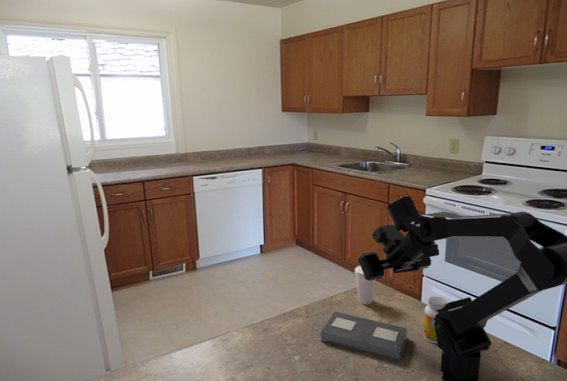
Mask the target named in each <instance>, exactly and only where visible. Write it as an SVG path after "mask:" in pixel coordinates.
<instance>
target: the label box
mask: <svg viewBox="0 0 567 381" xmlns="http://www.w3.org/2000/svg"><path fill="white" fill-rule="evenodd" d="M407 339H408V328H407V327H402V326H399V325H395V324H390V323H387V322H386V323H385V322H381V321H377V320H372V319H369V318H366V317H365V318H363V317H359V316H355V315H351V314H347V313H342V312H337V311H334V312H333V314H332V315H331V317H330V318H329V319H328V320H327V322H326V324H325V325H324V326H323V327H322V329H321V330H320V341H321V342H324V343H327V344H331V345H335V346H338V347H342V348H346V349H349V350H353V351H357V352H360V353H362V354H363V353H364V354H367V355H371V356H374V357H379V358H382V359H386V360H389V361H393V362H397V363H400V360H401V357H402V354H403V351H404V348H405V345H406V342H407Z"/></svg>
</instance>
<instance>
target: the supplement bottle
mask: <svg viewBox="0 0 567 381" xmlns="http://www.w3.org/2000/svg"><path fill="white" fill-rule="evenodd" d="M427 301H428V302H427V303H428V304H427V305H426V306H425V308H424V313H423V316H424V317H423V332H422V335H423V337H424V339H425V340H426V341H428V343H433V344H437V345H438V343H437V337H436V332H435V327H434V323H435V320H434V317H435V315H436V314H438V312H437V311H436V310H438V309H441V308H443V307H444V306H445V305H446V304H447V303H448V302H447V299H446V298H444V297H441V296H436V295H435V296H430V297H429V298H428V300H427Z"/></svg>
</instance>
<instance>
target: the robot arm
mask: <svg viewBox="0 0 567 381" xmlns="http://www.w3.org/2000/svg"><path fill="white" fill-rule="evenodd" d="M386 211H387V212H388V214H389V217H390V218H391V220H392V222H393V224H385V225H381V226H379V227H377V228H376V229H375V230H373V233H372V235H371V236H372V238H373V240H374V241H375V242H376V244H382V246H383V248H382V251H383V253H384V254H386V256H385V257H386V258H385V259H381V260H380V258H379V255H378V253H377V252H375V251H369V252H364V253H361V254H359V256H358V257H357V262H358V263H359V266H361V269H362V271H363V273H364V278H365V280H368V281H370V280H376V281H377V280H379V279H381V278H382V277H384V276H385V271H388V270H392V272H393V273H394V274H401V273H409V272H416V271H420V270H421V271H422V270H424V269H428V268H429V267H430V266H431V265H432V259H431V257H436V256H439V255H440V249H439V244H437V243H436V242H435V241H440V240H446V239H451V238H457V237H489V238H490V237H493V238H494V237H495V238H496V237H501V238H502V237H503V238H504V239H505V240H507V242H508V244H509V245H510V248H511V251H512V253H513V255H514V257H515V258H516V259H517V260H518V261H519V262H520V263H519V265H518V268H517V270H516V272H515V273H514V274H513V275H511V276H509V277H508V278H506V279H505V280H503V281H501V282H500V283H498V284H497V285H495V286H493V287H492V288H490V289H488V290H487V291H485V292H484V293H482V294H481V295H479V296H478V297H476V298H474V299H473V300H472V298H471V297H470V296H468V297H465V298H460V299H457V300H453V301H449V302H447V304H446V305H445V306H444V307H443V308H441V309H438V310H436V311H437V312H438V314H436V315H435V317H434V320H435V323H434V327H435V332H436V337H437V343H438V344H437V347H438V349H440V350H441V359H440V361H441V362H440V372H441V373H442V378H441V379H442V381H480V366H481V354H482V352H484V351H488V350H489V349H490V347H491V345H492V341H491V339H490V337H489V335H488V333H487V332H486V330H485V329H484V328H485V327H486V326H487V323H488V321H489V320H491V319H492V318H493V317H496V316H498V315H500V314H501V313H503V312H506V311H507V310H509V309H511V308H513V307H514V306H516V305H518V304H520V303H522V302H524V301H525V300H528V299H530V298H531V297H534V296H535V295H537V294H539V293H540V292H543V291H546V290H549V289H553V288H555V287H560V286H563V285H566V284H567V235H566V234H565V233H563V232H561V231H559V230H558V229H555V228H553V227H551V226H549V225H547V224H545V223H543V222H541V221H540V220H539V219H538V218H536V216H534V215H533V214H531V213H529V212H526V211H517V212H511V213H497V214H496V213H495V214H479V215H460V214H458V213H455V212H447V211H439V212H433V213H432V212H431V213H425V214H420V212H419V211H418V209H417V207H416V206H415V204H414V202H413V198H412V196H411V195H405V196H402V197H401V198H400V199H397V200H395V201H393V202H391V203H389V204H388V205H387V206H386ZM401 231H402V232H401ZM404 233H406V234H405V235H404ZM534 243H535V244H534ZM536 244H537V245H539V246H541V247H538V246H537V245H536Z"/></svg>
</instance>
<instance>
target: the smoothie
mask: <svg viewBox="0 0 567 381" xmlns="http://www.w3.org/2000/svg"><path fill="white" fill-rule="evenodd" d="M354 274H355V278H356V286H357V288H356V289H357V295H358V296H357V297H358V302H359V304H362V305H371V304H373V298H374V292H375V287H376V281H377V279H376V280H370V281H368V280H365V278H364V273H363V271H362V269H361V266H360V265H358V266H356V267H355V268H354Z"/></svg>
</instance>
